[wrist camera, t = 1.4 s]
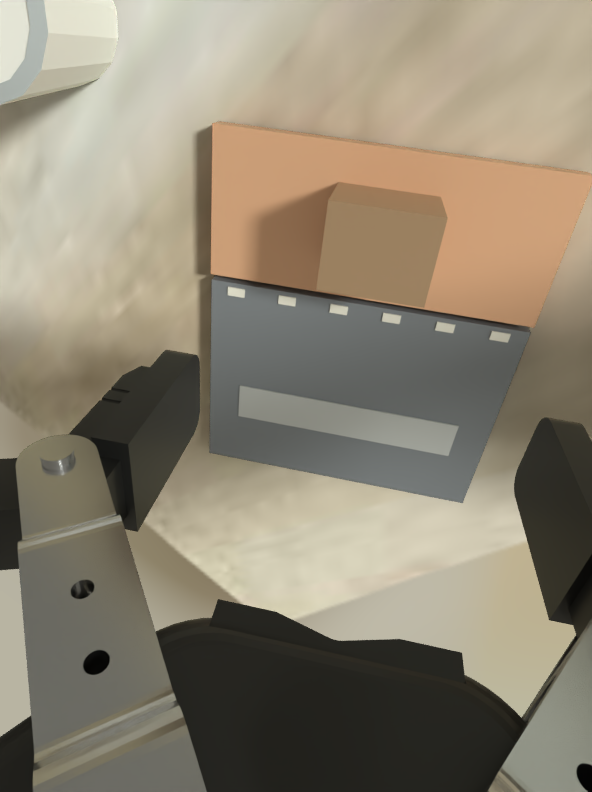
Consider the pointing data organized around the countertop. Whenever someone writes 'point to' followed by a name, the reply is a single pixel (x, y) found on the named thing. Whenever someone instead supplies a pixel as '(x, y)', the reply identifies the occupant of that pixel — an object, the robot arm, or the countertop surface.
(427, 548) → the countertop surface
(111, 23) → the shot glass
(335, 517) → the countertop surface
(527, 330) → the board
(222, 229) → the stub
